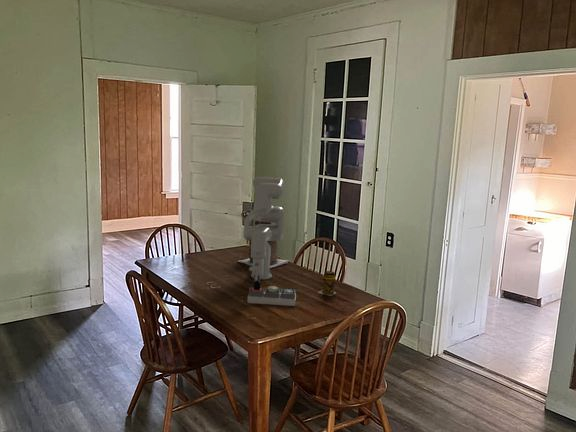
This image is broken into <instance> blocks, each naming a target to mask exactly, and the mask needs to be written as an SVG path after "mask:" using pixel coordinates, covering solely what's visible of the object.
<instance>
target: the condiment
mask: <svg viewBox="0 0 576 432" xmlns="http://www.w3.org/2000/svg"><path fill="white" fill-rule="evenodd" d="M335 285H336V277H335V271H333V270H326V271H325V272H324V276H323V285H322V287H323V288H322V289H321V290H319V291H318V292H317V294H320V295H325V296H329V297H332V296H334V295H336V293H337V292H336V291H335Z"/></svg>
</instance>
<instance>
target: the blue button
mask: <svg viewBox="0 0 576 432" xmlns="http://www.w3.org/2000/svg"><path fill="white" fill-rule="evenodd" d="M292 290H293V289H292ZM292 290H283V293H286V294H293V291H292Z"/></svg>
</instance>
